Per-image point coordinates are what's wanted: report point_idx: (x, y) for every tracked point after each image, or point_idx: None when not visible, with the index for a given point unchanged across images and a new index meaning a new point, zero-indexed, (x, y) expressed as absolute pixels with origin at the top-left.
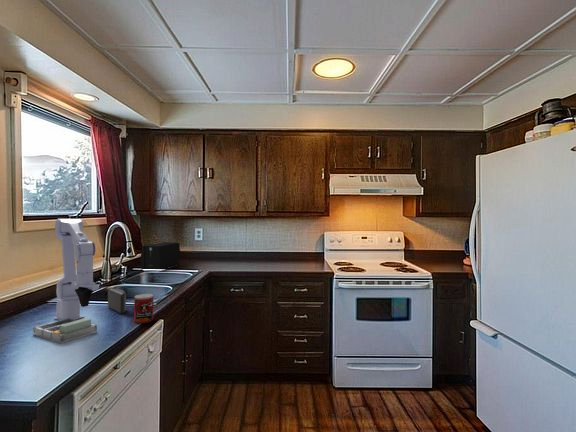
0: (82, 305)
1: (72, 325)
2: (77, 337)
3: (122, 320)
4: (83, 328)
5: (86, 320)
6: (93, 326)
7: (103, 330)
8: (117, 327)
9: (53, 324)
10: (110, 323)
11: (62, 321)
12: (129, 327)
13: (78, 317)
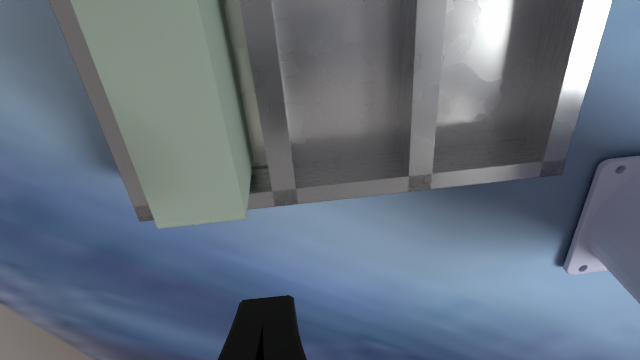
0: (243, 314)
1: (81, 15)
2: None
3: None
4: None
5: (144, 188)
6: (128, 192)
7: None
8: (165, 297)
9: (569, 9)
10: None
11: (551, 103)
12: (108, 332)
13: (585, 243)
